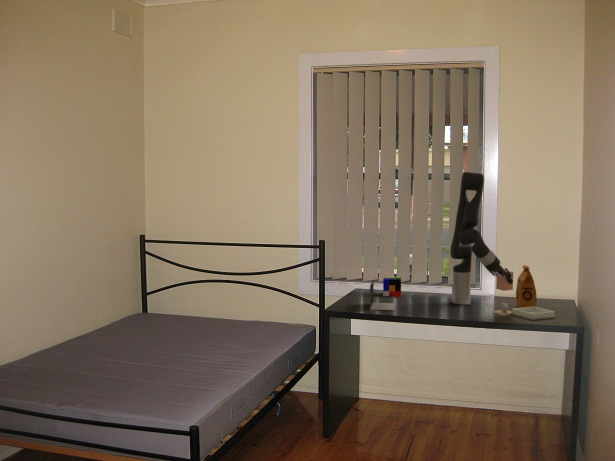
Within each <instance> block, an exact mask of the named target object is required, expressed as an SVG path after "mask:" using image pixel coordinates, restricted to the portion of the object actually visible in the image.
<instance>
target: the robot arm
mask: <svg viewBox="0 0 615 461" xmlns="http://www.w3.org/2000/svg"><path fill="white" fill-rule="evenodd" d="M460 180H461V181H460V190H459V199H458V206H457V212H456V217H455V223H454V224H455V225H454V232H453V237H452V241H451V245H450V249H449V250H450V254H449V255H450V257H451V259H453V260H463V261H462V262H461V263H459V264H455V265H454V266H453V267H452V268H453V269H452V272H453V273H452V285H451V302H452V303H453V304H455V305H470V304H471V289H472V288H471V281H472V280H471V279H472V277H471V273H472V270H471V269H472V256H473V255H474V256H475V257H476V258H477V259H478V260H479V262H480V263H481V264H482V265H483V267H484V268H485V269H486V270H487V271H488V272H489V273H490V274H491V275H492V276H493V277H496V278H497V274H499V275H500V276H501V277H504V278H505V279H506V280H507V281H508V282H509V284H512V283H513V284H514V279H513V280H512V279H511V278H510V277H511V276H512V275H511V274H510V272H509V271H510V270H509V269H508V268H507V267H505V268H503V266H502V265H501V260H500V259H499V258H498V256H497V255H496V254H495V253H494V252H493V250H491V249H490V248H489V246H488V245H487V244H486V243H485V241H484V239H483V236H482V234H481V232H480V230H478V228H476V227H477V226H478V225H479V214H480V206H481V203H482V197H483V193H484V187H485V186H484V185H485V174H484V173H482V172H477V171H476V172H475V171H474V172H473V171H464V172H463V173H462V174H461V179H460ZM467 191H474V192H475V195H474V196H473V198H472V199H471V200H470V199H469V196H468V192H467ZM472 244H473V245H472ZM502 273H503V275H502ZM504 275H505V276H506V277H505V276H504Z"/></svg>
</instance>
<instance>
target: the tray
mask: <svg viewBox="0 0 615 461" xmlns="http://www.w3.org/2000/svg"><path fill="white" fill-rule="evenodd" d="M511 311H512V313H513V315H512V316H516V317H519V318H522V319H526V320H529V321H536V320H538V321H539V320H546V319H554V318H555V316H556V314H555V313H556V312H555V310H549V309H546V308H542V307H538V306H536V307H535V306H532V307H522V308H519V307H516V308H511Z"/></svg>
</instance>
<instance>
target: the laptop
mask: <svg viewBox="0 0 615 461" xmlns="http://www.w3.org/2000/svg"><path fill="white" fill-rule="evenodd" d="M374 283H375V282H374V280H372V282H371V283H370V286H369V310H370V309H371V310H370V311H376V310H391V311H392V312H393V311H395V309H396V305H397V303H395V302H393V303H391V302H374V296H375V294H374V293H375V292H374V290H375V289H374ZM391 311H390V312H391Z"/></svg>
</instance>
